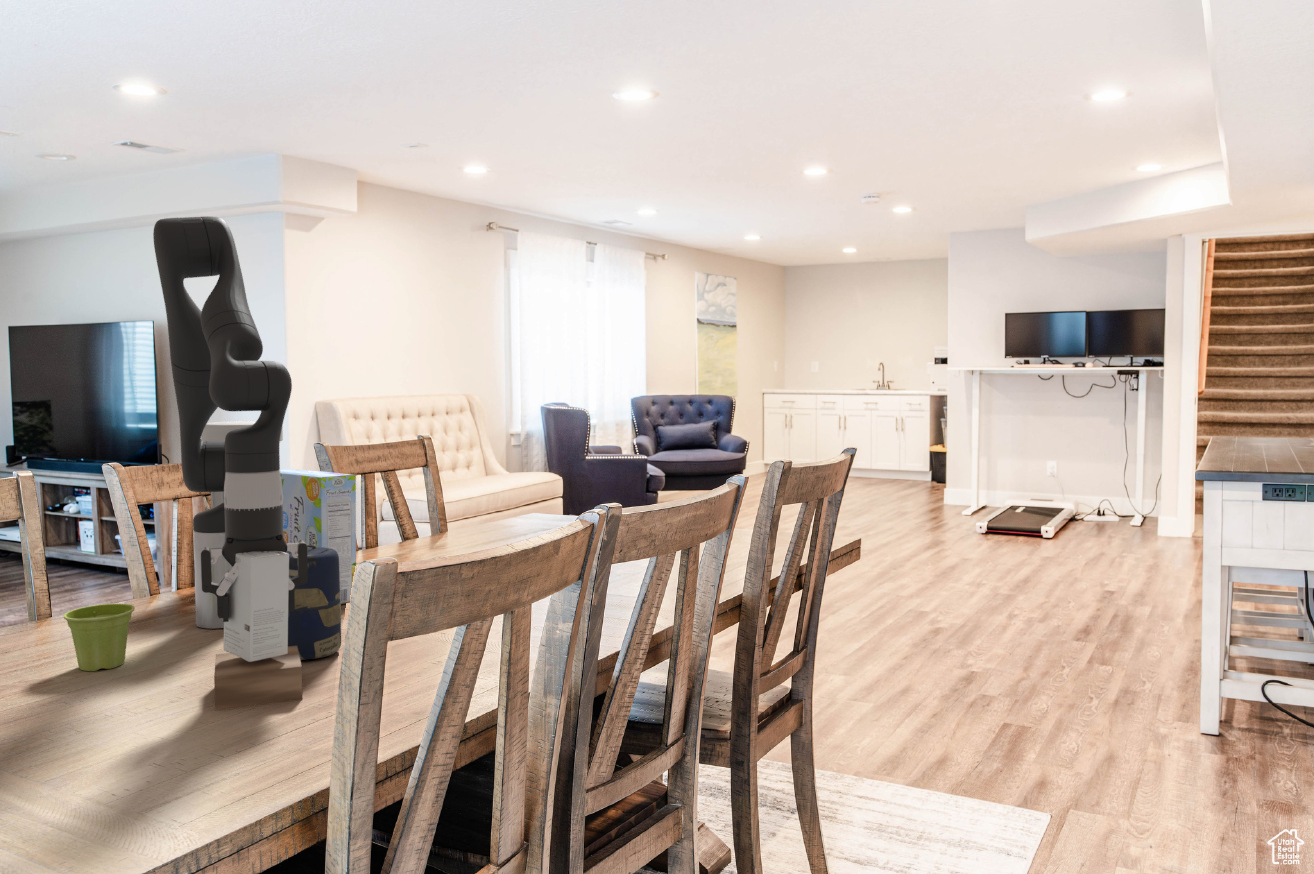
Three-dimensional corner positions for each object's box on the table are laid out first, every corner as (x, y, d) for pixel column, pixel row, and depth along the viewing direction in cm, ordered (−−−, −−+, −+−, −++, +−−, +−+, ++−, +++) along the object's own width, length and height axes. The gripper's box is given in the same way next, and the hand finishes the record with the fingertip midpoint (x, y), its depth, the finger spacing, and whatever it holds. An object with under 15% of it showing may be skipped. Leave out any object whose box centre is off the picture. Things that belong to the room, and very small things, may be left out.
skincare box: (222, 651, 132) (219, 548, 131) (263, 642, 137) (261, 542, 136) (250, 663, 127) (248, 556, 126) (292, 653, 131) (290, 550, 130)
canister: (354, 649, 153) (352, 541, 152) (315, 666, 144) (312, 551, 143) (306, 644, 156) (304, 538, 155) (265, 660, 147) (262, 547, 146)
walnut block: (216, 688, 135) (215, 654, 135) (297, 678, 139) (297, 645, 139) (215, 713, 125) (214, 676, 125) (302, 701, 129) (301, 666, 129)
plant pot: (104, 677, 138) (102, 620, 138) (50, 673, 140) (48, 616, 140) (150, 658, 148) (148, 605, 147) (99, 655, 150) (97, 601, 149)
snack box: (361, 601, 185) (358, 473, 184) (321, 610, 178) (319, 477, 177) (301, 586, 199) (298, 466, 197) (262, 593, 192) (259, 470, 190)
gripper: (306, 497, 137) (308, 606, 138) (198, 502, 131) (201, 616, 132) (309, 503, 130) (312, 618, 131) (195, 509, 124) (199, 630, 125)
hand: (256, 617), depth 132 cm, fingers closed on skincare box, 7 cm apart
